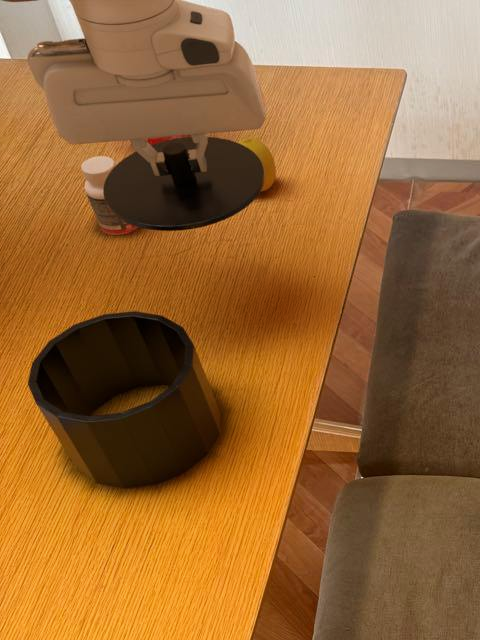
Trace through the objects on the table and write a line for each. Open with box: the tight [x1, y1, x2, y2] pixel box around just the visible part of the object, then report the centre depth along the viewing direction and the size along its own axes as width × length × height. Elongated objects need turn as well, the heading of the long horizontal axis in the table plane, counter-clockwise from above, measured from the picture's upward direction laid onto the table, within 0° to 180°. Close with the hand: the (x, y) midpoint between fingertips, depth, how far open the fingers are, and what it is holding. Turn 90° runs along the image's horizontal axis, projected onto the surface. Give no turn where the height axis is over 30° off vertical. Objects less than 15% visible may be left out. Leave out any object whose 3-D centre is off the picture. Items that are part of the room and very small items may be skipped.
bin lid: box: [103, 136, 265, 232], centre depth 94 cm, size 17×17×5 cm
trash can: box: [27, 310, 221, 489], centre depth 93 cm, size 16×16×10 cm
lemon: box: [237, 136, 277, 193], centre depth 120 cm, size 6×6×8 cm
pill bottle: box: [80, 155, 138, 236], centre depth 115 cm, size 5×5×9 cm
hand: (182, 171), depth 95 cm, fingers closed on bin lid, 2 cm apart
